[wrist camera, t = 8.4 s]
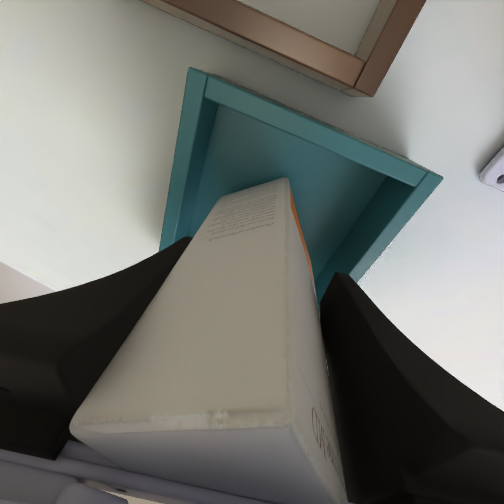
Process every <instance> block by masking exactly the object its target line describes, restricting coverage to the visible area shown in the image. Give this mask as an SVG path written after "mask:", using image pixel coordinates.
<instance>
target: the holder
mask: <svg viewBox="0 0 504 504" xmlns="http://www.w3.org/2000/svg"><path fill="white" fill-rule="evenodd" d="M141 1H143V2H145V3H147V4H150V5H152V6H154V7H156V8H158V9H161V10H163V11H165V12H167V13H169V14H172V15H174V16H176V17H178V18H180V19H183V20H185V21H187V22H189V23H191V24H194V25H196V26H198V27H200V28H203V29H205V30H207V31H209V32H211V33H214V34H216V35H218V36H220V37H222V38H225V39H227V40H229V41H231V42H233V43H236V44H238V45H240V46H242V47H244V48H247V49H249V50H251V51H253V52H255V53H258V54H260V55H262V56H264V57H267V58H269V59H271V60H273V61H275V62H278V63H280V64H282V65H284V66H286V67H289V68H291V69H293V70H295V71H297V72H300V73H302V74H304V75H306V76H308V77H311V78H313V79H315V80H317V81H320V82H322V83H324V84H326V85H328V86H331V87H333V88H335V89H339V90H340V91H342V92H344V93H346V94H348V95H350V96H353V97H373V96H374V95H375V93H376V91H377V89H378V88H379V86H380V84H381V82H382V80H383V79H384V77H385V75H386V73H387V71H388V69H389V68H390V66H391V64H392V62H393V60H394V58H395V57H396V55H397V53H398V51H399V49H400V48H401V46H402V44H403V42H404V40H405V38H406V37H407V35H408V33H409V31H410V29H411V28H412V26H413V24H414V22H415V20H416V18H417V17H418V15H419V13H420V11H421V9H422V7H423V6H424V4H425V2H426V0H381V1H380V3H379V5H378V7H377V10H376V12H375V14H374V16H373V18H372V20H371V22H370V24H369V27H368V29H367V31H366V33H365V35H364V37H363V39H362V41H361V44H360V46H359V48H358V50H357V52H356V54H355V56H354V55H352V54H350V53H348V52H346V51H343V50H341V49H339V48H337V47H335V46H333V45H331V44H329V43H326V42H324V41H322V40H320V39H318V38H316V37H314V36H312V35H309V34H307V33H305V32H303V31H301V30H299V29H297V28H295V27H292V26H290V25H288V24H286V23H284V22H282V21H280V20H278V19H275V18H273V17H271V16H269V15H267V14H265V13H263V12H261V11H258V10H256V9H254V8H252V7H250V6H248V5H246V4H244V3H242V2H239V1H237V0H141Z"/></svg>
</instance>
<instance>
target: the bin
mask: <svg viewBox="0 0 504 504" xmlns="http://www.w3.org/2000/svg"><path fill="white" fill-rule="evenodd" d="M282 177H287V178H288V180H289V184H290V188H291V192H292V196H293V200H294V204H295V208H296V212H297V216H298V219H299V223H300V227H301V230H302V234H303V237H304V240H305V244H306V247H307V250H308V254H309V257H310V260H311V266H312V272H313V278H314V285H315V292H316V299H317V305H318V311H319V318H320V301H321V299H322V297H323V295H324V293H325V291H326V289H327V287H328V285H329V283H330V281H331V279H332V277H333V275H334V273H335V271H336V272H340V273H344V274H348V275H349V276H350V277H351V278H352V279H353V280H354V281H355V282H356V283H357V282H358V281H359V280H360V278H361V277H362V276H363V275H364V274H365V272H366V271H367V270H368V269H369V268H370V266H371V265H372V264H373V263H374V262H375V260H376V259H377V258H378V257H379V256H380V254H381V253H382V252H383V251H384V250H385V248H386V247H387V246H388V245H389V244H390V242H391V241H392V240H393V239H394V238H395V236H396V235H397V234H398V233H399V231H400V230H401V229H402V228H403V227H404V225H405V224H406V223H407V222H408V221H409V219H410V218H411V217H412V216H413V215H414V213H415V212H416V211H417V210H418V209H419V207H420V206H421V205H422V204H423V203H424V201H425V200H426V199H427V198H428V197H429V195H430V194H431V193H432V192H433V191H434V189H435V188H436V187H437V186H438V185H439V183H440V182H441V181H442V180H443V177H442V176H440V175H438V174H436V173H434V172H432V171H430V170H429V169H427V168H425V167H423V166H421V165H419V164H417V163H415V162H413V161H411V160H409V159H407V158H405V157H403V156H400V155H398V154H396V153H393V152H391V151H389V150H386V149H384V148H382V147H380V146H377V145H375V144H373V143H370V142H368V141H366V140H364V139H361V138H359V137H357V136H354V135H352V134H350V133H348V132H345V131H343V130H341V129H338V128H336V127H334V126H331V125H329V124H327V123H325V122H322V121H320V120H318V119H315V118H313V117H311V116H309V115H306V114H304V113H302V112H299V111H297V110H295V109H293V108H290V107H288V106H286V105H283V104H281V103H279V102H276V101H274V100H272V99H270V98H267V97H265V96H263V95H260V94H258V93H256V92H254V91H251V90H249V89H247V88H244V87H242V86H240V85H238V84H235V83H233V82H231V81H228V80H226V79H224V78H221V77H219V76H217V75H215V74H212V73H209V72H205V71H202V70H198V69H195V68H192V67H189V69H188V74H187V80H186V86H185V93H184V99H183V105H182V111H181V117H180V124H179V130H178V136H177V142H176V148H175V155H174V161H173V167H172V173H171V179H170V185H169V192H168V198H167V204H166V210H165V216H164V223H163V229H162V235H161V241H160V247H159V252H160V251H161V250H163V249H165V248H167V247H168V246H170V245H172V244H173V243H175V242H177V241H178V240H180V239H182V238H183V237H185V236H187V237H191V238H193V237H194V236H195V234H196V233H197V231H198V230H199V228H200V227H201V225H202V224H203V222H204V221H205V219H206V218H207V216H208V215H209V213H210V212H211V210H212V209H213V207H214V206H215V204H216V203H217V201H218V200H219V198H220V197H222V196H225V195H228V194H231V193H234V192H237V191H241V190H244V189H247V188H251V187H254V186H257V185H261V184H264V183H267V182H270V181H273V180H276V179H279V178H282Z"/></svg>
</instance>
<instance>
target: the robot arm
mask: <svg viewBox="0 0 504 504" xmlns="http://www.w3.org/2000/svg"><path fill="white" fill-rule="evenodd" d="M501 175H503V177H502V179H500V180H499V181H497V179H498V177H499V176H501ZM479 178H480V181H481V182H483V183H485V184H487V185H490V186H492V187H494V188H497V189H499V190H501V191H503V192H504V147H503V148H502V149H501V150H500V152H499V153H498V154H497V155H496V156H495V157H494V158H493V159H492V160H491V161H490V163H489V164H488V165H487V166H486V167H485V168H484V169H483V170H482V172H481V173H480V176H479ZM192 239H193V238H191V237H187V236H185V237H183V238H182V239H180V240H178V241H177V242H175V243H173V244H172V245H170V246H168V247H167V248H165V249H163V250H161V251H160V252H158V253H156V254H154V255H153V256H151V257H149V258H147V259H145V260H143V261H141V262H139V263H137V264H135V265H133V266H131V267H128V268H126V269H124V270H121V271H119V272H116V273H114V274H111V275H109V276H106V277H104V278H101V279H97V280H94V281H91V282H88V283H85V284H82V285H79V286H76V287H72V288H69V289H65V290H62V291H58V292H54V293H50V294H46V295H42V296H38V297H33V298H28V299H23V300H18V301H13V302H8V303H3V304H0V504H128V501H127V500H126V499H123V498H121V497H118V496H116V495H112V494H110V493H107V492H105V491H109V492H114V493H119V494H123V495H128V496H132V497H136V498H141V499H146V500H150V501H155V502H159V503H164V504H278V503H273V502H268V501H263V500H259V499H254V498H250V497H245V496H241V495H236V494H231V493H227V492H222V491H218V490H213V489H209V488H204V487H200V486H196V485H191V484H187V483H182V482H178V481H173V480H168V479H164V478H159V477H155V476H150V475H146V474H142V473H137V472H133V471H129V470H126V469H123V468H122V467H120V466H119V465H117V464H116V463H114V462H113V461H111V460H110V459H108V458H106V457H105V456H103V455H102V454H100V453H99V452H97V451H96V450H94V449H92V448H91V447H89V446H88V445H86V444H85V443H83V442H81V441H80V440H78V439H77V438H76V437H75V436H73V435H72V434H71V433H70V429H69V426H70V423H71V420H72V418H73V416H74V414H75V413H76V411H77V410H78V408H79V407H80V406H81V404H82V403H83V401H84V400H85V398H86V397H87V395H88V394H89V392H90V391H91V389H92V388H93V386H94V385H95V384H96V382H97V381H98V379H99V378H100V376H101V375H102V373H103V372H104V371H105V369H106V368H107V366H108V365H109V363H110V362H111V360H112V359H113V357H114V356H115V354H116V353H117V351H118V350H119V349H120V347H121V346H122V344H123V343H124V341H125V340H126V338H127V337H128V335H129V334H130V332H131V331H132V329H133V328H134V326H135V325H136V323H137V322H138V320H139V319H140V317H141V316H142V314H143V313H144V311H145V310H146V308H147V307H148V305H149V304H150V302H151V301H152V299H153V298H154V297H155V295H156V294H157V292H158V291H159V289H160V288H161V286H162V285H163V283H164V281H165V280H166V278H167V277H168V275H169V274H170V272H171V271H172V269H173V268H174V266H175V265H176V263H177V261H178V260H179V259H180V257H181V256H182V254H183V253H184V251H185V250H186V248H187V247H188V245H189V244H190V242H191V241H192ZM320 324H321V330H322V337H323V343H324V350H325V355H326V361H327V367H328V375H329V382H330V389H331V395H332V401H333V408H334V414H335V421H336V427H337V433H338V439H339V446H340V452H341V459H342V465H343V472H344V479H345V486H346V493H347V499H348V502H344V501H341V504H504V412H503V411H502V410H500V409H499V408H497V407H496V406H494V405H493V404H491V403H490V402H488V401H487V400H485V399H484V398H483V397H481V396H480V395H478V394H477V393H475V392H474V391H473V390H471V389H470V388H468V387H467V386H466V385H464V384H463V383H462V382H460V381H459V380H458V379H456V378H455V377H454V376H452V375H451V374H450V373H448V372H447V371H446V370H445V369H443V368H442V367H441V366H440V365H438V364H437V363H436V362H435V361H433V360H432V359H431V358H430V357H428V356H427V355H426V354H425V353H424V352H423V351H421V350H420V349H419V348H418V347H417V346H416V345H415V344H414V343H412V342H411V341H410V340H409V339H408V338H407V337H406V336H405V335H404V334H403V333H402V332H401V331H400V330H399V329H398V328H397V327H396V326H395V325H394V324H393V323H392V322H391V321H390V320H389V319H388V318H387V317H386V316H385V315H384V314H383V313H382V312H381V311H380V310H379V308H378V307H377V306H376V305H375V304H374V303H373V302H372V301H371V299H370V298H369V297H368V296H367V295H366V294H365V292H364V291H363V290H362V289H361V288H360V287H359V285H358V284H357V283H356V282H355V281H354V280H353V279H352V278H351V277H350V276H349V275H348V274H344V273H340V272H336V271H335V273H334V275H333V277H332V279H331V281H330V283H329V285H328V287H327V289H326V291H325V293H324V295H323V297H322V299H321V301H320ZM99 489H100V490H99ZM102 490H105V491H102Z"/></svg>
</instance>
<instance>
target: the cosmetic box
mask: <svg viewBox="0 0 504 504" xmlns="http://www.w3.org/2000/svg"><path fill="white" fill-rule="evenodd" d="M69 429H70V433H71V434H72V435H73V436H75V437H76V438H77V439H78V440H80V441H81V442H83V443H85V444H86V445H88V446H89V447H91V448H92V449H94V450H96V451H97V452H99V453H100V454H102V455H103V456H105V457H106V458H108V459H110V460H111V461H113V462H114V463H116V464H117V465H119V466H120V467H122V468H123V469H126V470H129V471H133V472H137V473H142V474H146V475H150V476H155V477H159V478H164V479H168V480H173V481H178V482H182V483H187V484H191V485H196V486H200V487H204V488H209V489H213V490H218V491H222V492H227V493H231V494H236V495H241V496H245V497H250V498H254V499H259V500H263V501H268V502H273V503H278V504H341V501H344V502H348V499H347V493H346V486H345V479H344V472H343V465H342V459H341V452H340V446H339V439H338V433H337V427H336V421H335V414H334V408H333V401H332V395H331V389H330V382H329V376H328V369H327V363H326V356H325V350H324V343H323V337H322V330H321V324H320V318H319V311H318V305H317V299H316V292H315V285H314V278H313V272H312V266H311V260H310V257H309V254H308V250H307V247H306V244H305V240H304V237H303V234H302V230H301V227H300V223H299V219H298V216H297V212H296V208H295V204H294V200H293V196H292V192H291V188H290V184H289V180H288V178H287V177H282V178H279V179H276V180H273V181H270V182H267V183H264V184H261V185H257V186H254V187H251V188H247V189H244V190H241V191H237V192H234V193H231V194H228V195H225V196H222V197H220V198H219V200H218V201H217V203H216V204H215V206H214V207H213V209H212V210H211V212H210V213H209V215H208V216H207V218H206V219H205V221H204V222H203V224H202V225H201V227H200V228H199V230H198V231H197V233H196V234H195V236H194V237H193V239H192V241H191V242H190V244H189V245H188V247H187V248H186V250H185V251H184V253H183V254H182V256H181V257H180V259H179V260H178V261H177V263H176V265H175V266H174V268H173V269H172V271H171V272H170V274H169V275H168V277H167V278H166V280H165V281H164V283H163V285H162V286H161V288H160V289H159V291H158V292H157V294H156V295H155V297H154V298H153V299H152V301H151V302H150V304H149V305H148V307H147V308H146V310H145V311H144V313H143V314H142V316H141V317H140V319H139V320H138V322H137V323H136V325H135V326H134V328H133V329H132V331H131V332H130V334H129V335H128V337H127V338H126V340H125V341H124V343H123V344H122V346H121V347H120V349H119V350H118V351H117V353H116V354H115V356H114V357H113V359H112V360H111V362H110V363H109V365H108V366H107V368H106V369H105V371H104V372H103V373H102V375H101V376H100V378H99V379H98V381H97V382H96V384H95V385H94V386H93V388H92V389H91V391H90V392H89V394H88V395H87V397H86V398H85V400H84V401H83V403H82V404H81V406H80V407H79V408H78V410H77V411H76V413H75V414H74V416H73V418H72V420H71V423H70V426H69Z"/></svg>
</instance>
